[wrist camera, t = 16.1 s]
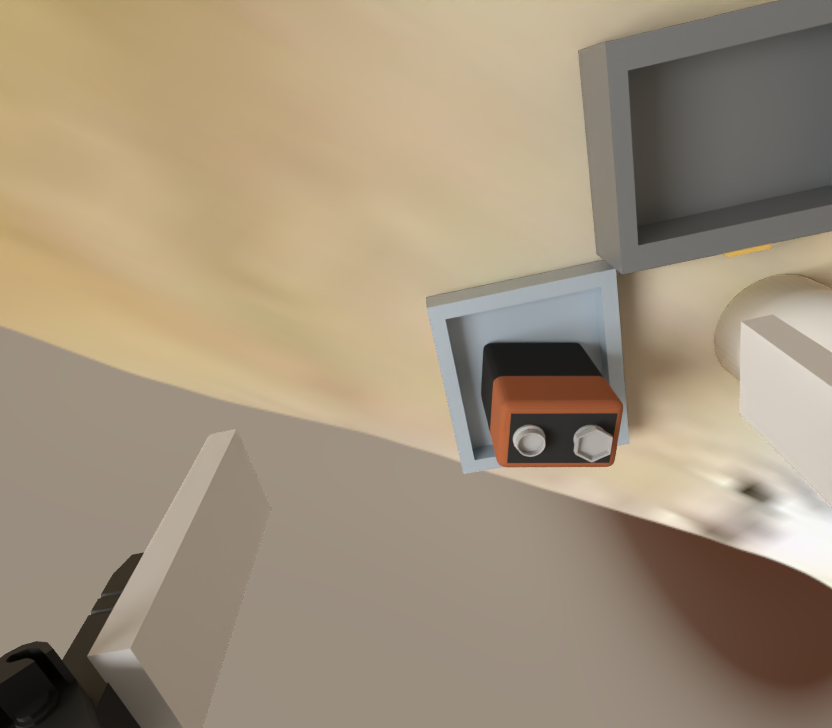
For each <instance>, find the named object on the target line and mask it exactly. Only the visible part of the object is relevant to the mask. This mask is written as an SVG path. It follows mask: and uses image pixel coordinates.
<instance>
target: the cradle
mask: <svg viewBox="0 0 832 728" xmlns="http://www.w3.org/2000/svg"><path fill="white" fill-rule="evenodd" d="M578 53H579V64H580V75H581V86H582V97H583V108H584V119H585V130H586V141H587V152H588V163H589V174H590V185H591V197H592V208H593V219H594V230H595V241H596V252H597V255H598V256H600V257H601V258H602V259H603V260H605V261H606V262H607V263H608V264H610V265H611V266H612V267H613V268H615V269H616V270H617V271H618V272H620V273H621V274H622V275H623V274H628V273H633V272H637V271H642V270H647V269H652V268H657V267H661V266H666V265H671V264H676V263H680V262H685V261H690V260H695V259H700V258H704V257H709V256H714V255H719V254H723V255H725V256H727V257H732V256H737V255H742V254H747V253H752V252H756V251H761V250H766V249H771V244H772V243H776V242H781V241H786V240H791V239H795V238H800V237H805V236H810V235H815V234H819V233H824V232H829V231H832V0H778V1H774V2H770V3H766V4H762V5H758V6H754V7H749V8H745V9H741V10H737V11H733V12H729V13H724V14H720V15H716V16H712V17H708V18H704V19H699V20H695V21H691V22H687V23H683V24H679V25H674V26H670V27H666V28H662V29H658V30H654V31H649V32H645V33H641V34H637V35H633V36H629V37H624V38H620V39H616V40H612V41H608V42H604V43H601V44H598V45H594V46H591V47H588V48H585V49H582V50H579V51H578Z"/></svg>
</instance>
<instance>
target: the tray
mask: <svg viewBox="0 0 832 728" xmlns="http://www.w3.org/2000/svg"><path fill="white" fill-rule="evenodd" d="M426 304H427V311H428V316H429V320H430V325H431V329H432V334H433V338H434V343H435V347H436V352H437V356H438V361H439V366H440V370H441V375H442V379H443V384H444V388H445V393H446V397H447V402H448V406H449V411H450V415H451V420H452V425H453V429H454V434H455V438H456V443H457V447H458V452H459V456H460V461H461V465H462V470H463V474H468V473H473V472H478V471H484V470H489V469H494V468H500V467H503V466H500V465H499V464H498V462H497V459H496V455H495V451H494V447H493V443H492V439H491V435H490V431H489V427H488V423H487V419H486V415H485V410H484V406H483V402H482V398H481V382H482V363H483V348H484V346H485V345H486V344H488V343H579V344H580V345H581V346H582V347H583V349H584V350H585V351H586V353H587V354H588V356H589V357H590V358H591V360H592V361H593V363H594V364H595V365H596V367H597V368H598V370H599V371H600V372H601V374H602V375H603V377H604V378H605V380H606V381H607V382H608V384H609V385H610V387H611V388H612V389H613V391H614V392H615V394H616V395H617V396H618V398H619V399H620V401H621V402H622V404H623V413H622V419H621V425H620V431H619V437H618V443H617V446H618V445H624V444H629V432H628V419H627V406H626V393H625V380H624V367H623V354H622V341H621V328H620V316H619V303H618V290H617V277H616V269H615V268H613V267H612V266H611V265H610V264H608V263H607V262H606V261H605V260H602V261H597V262H592V263H588V264H583V265H578V266H573V267H569V268H564V269H559V270H554V271H550V272H545V273H540V274H536V275H531V276H526V277H521V278H517V279H512V280H507V281H502V282H498V283H493V284H488V285H483V286H479V287H474V288H469V289H464V290H460V291H455V292H450V293H446V294H441V295H436V296H431V297H427V298H426Z"/></svg>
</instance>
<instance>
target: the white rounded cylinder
mask: <svg viewBox="0 0 832 728" xmlns="http://www.w3.org/2000/svg"><path fill="white" fill-rule="evenodd" d="M772 314H773V315H774V316H776V317H778V318H779V319H781V320H782V321H784V322H785V323H787V324H788V325H790V326H792V327H793V328H795V329H796V330H798V331H799V332H801V333H802V334H804V335H806V336H807V337H809V338H810V339H812V340H813V341H815V342H816V343H818V344H820V345H821V346H823V347H824V348H826V349H827V350H829V351H830V352H832V288H830V287H828V286H825V285H823V284H821V283H819V282H816V281H814V280H812V279H809V278H807V277H804V276H800V275H794V274H782V275H775V276H771V277H767V278H765V279H762V280H759V281H757V282H755V283H754V284H752V285H750V286H748V287H747V288H745V289H744V290H743V291H742V292H740V293H739V294H738V295H737V296H736V297H735V298H734V299H733V300H732V301H731V302H730V303H729V304H728V306H727V307H726V308H725V310H724V312H723V313H722V315H721V317H720V319H719V321H718V324H717V327H716V331H715V338H714V345H715V352H716V355H717V358H718V360H719V362H720V364H721V365H722V366H723V368H724V369H725V370H726V371H727V372H728V373H730V374H731V375H732V376H733V377H734V378H736V379H737V380H738V381H739V382H740V343H741V321H744V320H749V319H754V318H758V317H763V316H768V315H772Z"/></svg>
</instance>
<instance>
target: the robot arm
mask: <svg viewBox="0 0 832 728" xmlns="http://www.w3.org/2000/svg"><path fill="white" fill-rule="evenodd" d="M739 415H740V416H741V417H742V418H743V419H744V420H745V421H746V422H747V423H748V424H749V425H750V426H751V427H752V428H753V429H754V430H755V431H756V432H757V433H758V434H759V435H760V436H761V437H762V438H763V439H764V440H765V441H766V442H767V443H768V444H769V445H770V446H771V447H772V448H773V449H774V450H775V451H776V452H777V453H778V454H779V455H780V456H781V457H782V458H783V459H784V460H785V461H786V462H787V463H788V464H789V465H790V466H791V467H792V468H793V469H794V470H795V471H796V472H797V473H798V474H799V475H800V476H801V477H802V478H803V479H804V480H805V481H806V482H807V483H808V484H809V485H810V486H811V487H812V488H813V489H814V490H815V491H816V492H817V493H818V494H819V495H820V496H821V497H822V498H823V499H824V500H825V501H826V502H827V503H828V504H829V505H830V506H831V507H832V352H830V351H829V350H827V349H826V348H824V347H823V346H821V345H820V344H818V343H816V342H815V341H813V340H812V339H810V338H809V337H807V336H806V335H804V334H802V333H801V332H799V331H798V330H796V329H795V328H793V327H792V326H790V325H788V324H787V323H785V322H784V321H782V320H781V319H779V318H778V317H776V316H774V315H773V314H772V315H768V316H763V317H758V318H754V319H749V320H744V321H741V343H740V409H739ZM270 511H271V506H270V504H269V502H268V499H267V497H266V495H265V493H264V490H263V488H262V486H261V484H260V481H259V479H258V477H257V474H256V472H255V470H254V468H253V465H252V463H251V461H250V459H249V456H248V454H247V452H246V450H245V447H244V445H243V443H242V440H241V438H240V436H239V433H238V431H237V429H233V430H229V431H224V432H219V433H215V434H210V435H209V436H208V438H207V440H206V442H205V443H204V445H203V447H202V449H201V451H200V452H199V454H198V456H197V458H196V460H195V462H194V463H193V465H192V467H191V469H190V471H189V472H188V474H187V476H186V478H185V480H184V481H183V483H182V485H181V487H180V489H179V490H178V493H177V494H176V496H175V498H174V500H173V501H172V503H171V505H170V507H169V509H168V510H167V512H166V514H165V516H164V518H163V520H162V521H161V523H160V525H159V527H158V529H157V530H156V532H155V534H154V536H153V538H152V540H151V542H150V543H149V545H148V547H147V548H146V550H145V552H144V553H139V554H134V555H131V556H130V558H129V559H127V561H126V562H125V563H124V564H123V565H122V566H121V567H120V568H119V569H118V570H117V571H116V572H115V573H114V574H113V575H112V577H111V578H110V580H109V582H108V583H107V585H106V587H105V589H104V590H103V592H102V594H101V598H100V599H98V601H97V602H96V604H95V606H94V607H93V609H92V611H91V615H89V616H88V617H87V619H86V621H85V622H84V624H83V626H82V628H81V629H80V631H79V633H78V634H77V636H76V638H75V639H74V641H73V643H72V644H71V646H70V648H69V649H68V651H67V653H66V655H65V656H64V658H63V660H61V659H60V657H59V656H58V654H57V653H56V652H55V651H54V649H53V648H52V647H51V646H50V645H49V644H48V643H47V642H37V641H36V642H32V643H29V644H25V645H22V646H20V647H18V648H16V649H14V650H12V651H10V652H8V653H6V654H5V655H3V656H2V657H1V658H0V728H203V724H204V721H205V718H206V715H207V712H208V708H209V705H210V702H211V699H212V696H213V693H214V689H215V686H216V683H217V680H218V676H219V674H220V670H221V667H222V664H223V661H224V658H225V654H226V651H227V648H228V645H229V642H230V638H231V635H232V632H233V629H234V625H235V622H236V619H237V616H238V613H239V610H240V606H241V603H242V600H243V597H244V594H245V591H246V587H247V584H248V581H249V578H250V575H251V571H252V568H253V565H254V561H255V558H256V555H257V552H258V549H259V546H260V542H261V539H262V536H263V533H264V530H265V527H266V523H267V520H268V517H269V514H270Z"/></svg>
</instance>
